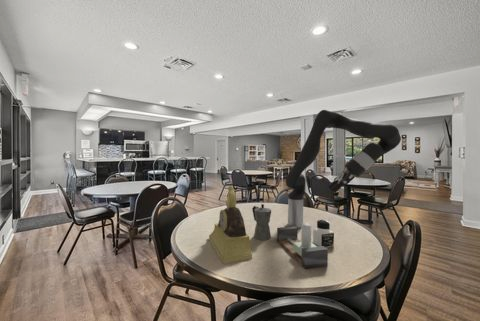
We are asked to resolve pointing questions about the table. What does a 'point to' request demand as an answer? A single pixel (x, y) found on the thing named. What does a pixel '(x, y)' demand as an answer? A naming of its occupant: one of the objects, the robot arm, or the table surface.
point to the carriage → (304, 239)
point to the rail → (309, 256)
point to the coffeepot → (262, 222)
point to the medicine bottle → (323, 234)
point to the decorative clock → (231, 233)
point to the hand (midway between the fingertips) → (331, 189)
